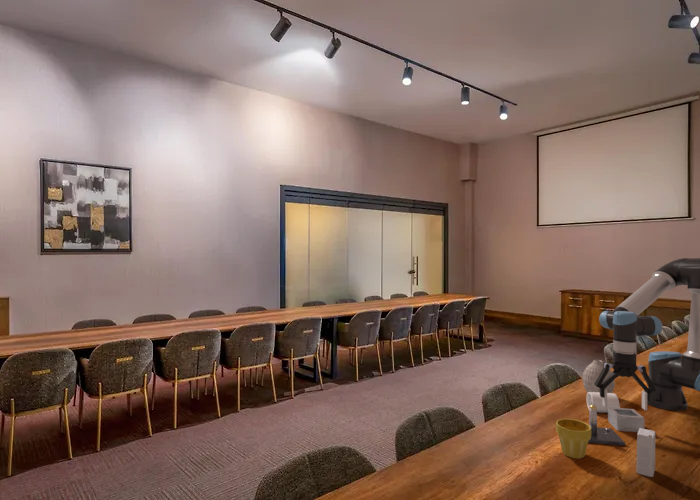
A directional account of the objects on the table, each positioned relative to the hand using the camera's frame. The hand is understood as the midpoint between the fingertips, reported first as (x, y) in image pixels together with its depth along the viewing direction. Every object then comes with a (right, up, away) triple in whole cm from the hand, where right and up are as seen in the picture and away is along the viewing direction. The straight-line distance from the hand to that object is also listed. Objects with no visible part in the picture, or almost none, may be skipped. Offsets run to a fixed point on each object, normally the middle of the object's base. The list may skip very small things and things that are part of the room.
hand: (624, 407), depth 160 cm
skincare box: (-15, -7, -33) cm, 37 cm away
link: (0, -7, 0) cm, 7 cm away
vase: (+10, -8, +34) cm, 36 cm away
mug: (+1, -8, +17) cm, 19 cm away
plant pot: (-31, -8, -22) cm, 39 cm away
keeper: (-17, -7, -8) cm, 20 cm away
